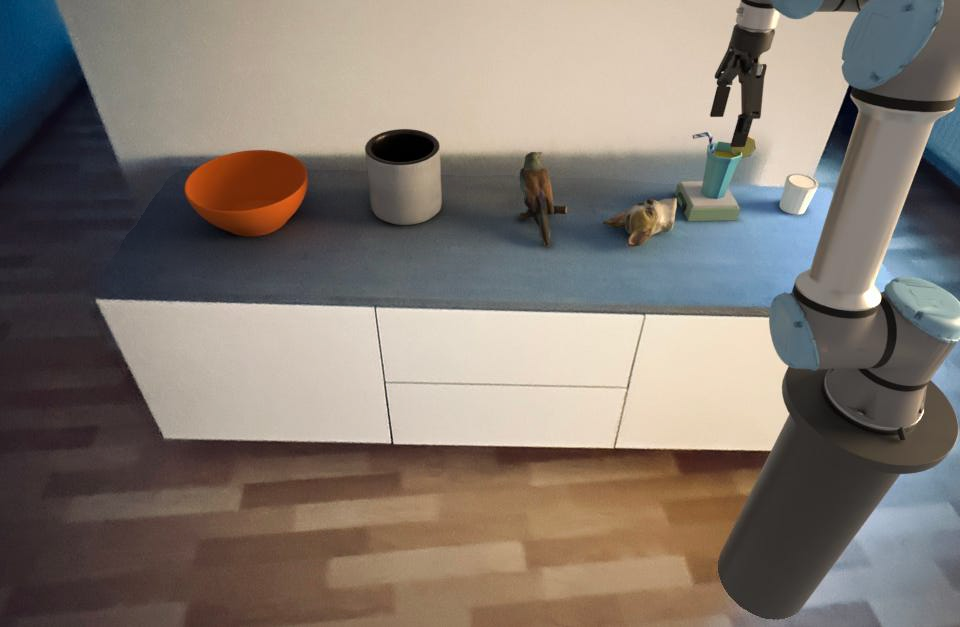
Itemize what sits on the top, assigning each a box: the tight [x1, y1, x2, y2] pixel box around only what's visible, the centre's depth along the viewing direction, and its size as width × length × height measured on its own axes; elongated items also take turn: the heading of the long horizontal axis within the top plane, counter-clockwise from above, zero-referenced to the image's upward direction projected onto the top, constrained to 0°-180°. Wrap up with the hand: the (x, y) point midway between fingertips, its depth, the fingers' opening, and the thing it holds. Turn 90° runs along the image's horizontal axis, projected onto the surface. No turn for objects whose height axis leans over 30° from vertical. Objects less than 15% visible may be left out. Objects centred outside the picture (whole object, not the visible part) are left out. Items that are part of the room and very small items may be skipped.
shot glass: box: [779, 173, 819, 215], centre depth 152 cm, size 7×7×7 cm
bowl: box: [184, 149, 309, 237], centre depth 145 cm, size 25×25×10 cm
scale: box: [674, 180, 741, 222], centre depth 153 cm, size 11×12×4 cm
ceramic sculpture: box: [602, 197, 678, 247], centre depth 143 cm, size 11×9×15 cm
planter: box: [364, 128, 443, 226], centre depth 147 cm, size 16×16×16 cm
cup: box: [692, 131, 757, 199], centre depth 146 cm, size 14×8×15 cm, turn 96°
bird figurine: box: [519, 151, 568, 248], centre depth 145 cm, size 13×10×20 cm
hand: (726, 130), depth 141 cm, fingers open, 13 cm apart
